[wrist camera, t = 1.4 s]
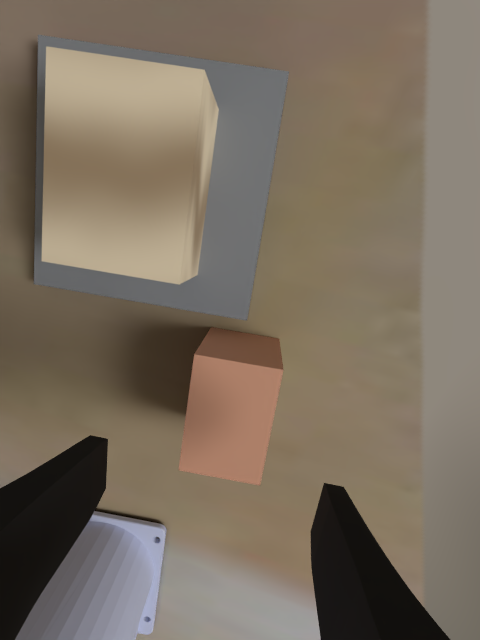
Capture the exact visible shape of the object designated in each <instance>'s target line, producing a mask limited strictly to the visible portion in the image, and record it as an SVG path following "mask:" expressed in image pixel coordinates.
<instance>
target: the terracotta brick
mask: <svg viewBox="0 0 480 640" xmlns="http://www.w3.org/2000/svg"><path fill="white" fill-rule="evenodd" d="M282 374H283V364H282V356H281V349H280V342H279V339H277V338H271V337H266V336H260V335H254V334H248V333H242V332H237V331H231V330H225V329H219V328H214V327H211V328H210V330H209V331H208V333H207V335H206V336H205V338H204V339H203V341H202V343H201V344H200V346H199V347H198V349H197V351H196V352H195V354H194V360H193V367H192V375H191V382H190V389H189V397H188V404H187V412H186V419H185V427H184V434H183V441H182V449H181V456H180V464H179V470H180V471H186V472H191V473H196V474H202V475H207V476H212V477H218V478H223V479H228V480H234V481H239V482H244V483H250V484H255V485H260V483H261V478H262V473H263V469H264V464H265V459H266V454H267V449H268V444H269V439H270V434H271V429H272V424H273V419H274V414H275V409H276V404H277V399H278V394H279V389H280V384H281V379H282Z"/></svg>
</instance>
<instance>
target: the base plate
mask: <svg viewBox="0 0 480 640" xmlns="http://www.w3.org/2000/svg"><path fill="white" fill-rule="evenodd" d="M46 46H48V47H54V48H61V49H68V50H75V51H81V52H88V53H95V54H102V55H108V56H115V57H122V58H129V59H135V60H142V61H149V62H156V63H162V64H169V65H176V66H183V67H189V68H196V69H203V70H205V72H206V75H207V78H208V81H209V84H210V86H211V89H212V92H213V95H214V98H215V100H216V103H217V106H218V109H219V112H218V120H217V128H216V136H215V143H214V151H213V159H212V167H211V174H210V182H209V190H208V197H207V205H206V213H205V221H204V228H203V236H202V244H201V252H200V259H199V267H198V275H197V276H195V277H193V278H191V279H189V280H187V281H185V282H183V283H181V284H173V283H167V282H161V281H155V280H149V279H144V278H138V277H132V276H126V275H120V274H114V273H108V272H102V271H96V270H90V269H84V268H79V267H73V266H67V265H61V264H55V263H49V262H43V261H42V217H43V171H44V125H45V79H46ZM288 74H289V72H288V71H281V70H274V69H267V68H261V67H254V66H247V65H240V64H233V63H227V62H220V61H213V60H206V59H199V58H193V57H186V56H179V55H172V54H165V53H159V52H152V51H145V50H138V49H131V48H125V47H118V46H111V45H104V44H97V43H91V42H84V41H77V40H70V39H63V38H57V37H50V36H43V35H38V72H37V131H36V190H35V250H34V284H37V285H43V286H49V287H54V288H60V289H66V290H72V291H78V292H84V293H89V294H95V295H101V296H107V297H113V298H119V299H124V300H130V301H136V302H142V303H148V304H153V305H159V306H165V307H171V308H177V309H183V310H188V311H194V312H200V313H206V314H212V315H218V316H223V317H229V318H235V319H241V320H247V318H248V312H249V306H250V300H251V294H252V289H253V283H254V277H255V271H256V265H257V259H258V253H259V247H260V241H261V235H262V229H263V223H264V217H265V211H266V206H267V200H268V194H269V188H270V182H271V176H272V170H273V164H274V158H275V152H276V146H277V140H278V134H279V128H280V123H281V117H282V111H283V105H284V99H285V93H286V87H287V81H288Z"/></svg>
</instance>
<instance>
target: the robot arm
mask: <svg viewBox="0 0 480 640" xmlns="http://www.w3.org/2000/svg"><path fill="white" fill-rule="evenodd" d="M107 446H108V439H106V438H101V437H96V436H91V435H90V436H88V437H87V438H85V439H83V440H82V441H80V442H78V443H77V444H75V445H74V446H72V447H70V448H69V449H67V450H66V451H64V452H62V453H61V454H59V455H58V456H56V457H54V458H53V459H51V460H49V461H48V462H46V463H44V464H43V465H41V466H39V467H38V468H36V469H34V470H33V471H31V472H29V473H28V474H26V475H24V476H22V477H20V478H18V479H17V480H15V481H13V482H11V483H9V484H8V485H6V486H4V487H2V488H0V640H135V639H136V636H137V633H141V634H147V635H148V634H150V633H152V631H153V627H154V622H155V614H156V606H157V599H158V591H159V583H160V576H161V568H162V561H163V553H164V545H165V538H166V528H165V526H164V525H162V524H159V523H154V522H149V521H144V520H139V519H133V518H128V517H123V516H118V515H113V514H107V513H102V512H97V511H95V509H96V507H97V505H98V503H99V501H100V499H101V497H102V495H103V493H104V491H105V489H106V471H107ZM156 537H159V538H156ZM311 564H312V575H313V583H314V591H315V598H316V606H317V613H318V621H319V628H320V636H321V640H450V639H449V638H448V636H447V635H446V634H445V633H444V632H443V631H442V629H441V628H440V627H439V626H438V625H437V623H436V622H435V621H434V620H433V618H432V617H431V616H430V615H429V613H428V612H427V611H426V610H425V608H424V607H423V606H422V605H421V603H420V602H419V601H418V600H417V598H416V597H415V596H414V595H413V593H412V592H411V591H410V589H409V588H408V587H407V585H406V584H405V582H404V581H403V580H402V578H401V577H400V575H399V574H398V573H397V571H396V570H395V568H394V567H393V565H392V564H391V562H390V561H389V559H388V558H387V557H386V555H385V553H384V552H383V550H382V549H381V547H380V546H379V544H378V543H377V541H376V540H375V538H374V537H373V535H372V533H371V532H370V530H369V529H368V527H367V525H366V524H365V522H364V520H363V519H362V517H361V515H360V514H359V512H358V510H357V509H356V507H355V505H354V504H353V502H352V500H351V499H350V497H349V495H348V493H347V492H346V490H345V489H344V487H341V486H336V485H332V484H327V483H324V485H323V489H322V493H321V496H320V500H319V504H318V507H317V511H316V514H315V518H314V522H313V525H312V529H311Z"/></svg>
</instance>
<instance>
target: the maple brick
mask: <svg viewBox="0 0 480 640" xmlns="http://www.w3.org/2000/svg"><path fill="white" fill-rule="evenodd" d="M218 112H219V109H218V106H217V103H216V100H215V98H214V95H213V92H212V89H211V86H210V84H209V81H208V78H207V75H206V72H205V70H203V69H196V68H189V67H183V66H176V65H169V64H162V63H156V62H149V61H142V60H135V59H129V58H122V57H115V56H108V55H102V54H95V53H88V52H81V51H75V50H68V49H61V48H54V47H48V46H46V79H45V125H44V171H43V217H42V261H43V262H49V263H55V264H61V265H67V266H73V267H79V268H84V269H90V270H96V271H102V272H108V273H114V274H120V275H126V276H132V277H138V278H144V279H149V280H155V281H161V282H167V283H173V284H181V283H183V282H185V281H187V280H189V279H191V278H193V277H195V276H197V275H198V267H199V259H200V252H201V244H202V236H203V228H204V221H205V213H206V205H207V197H208V190H209V182H210V174H211V167H212V159H213V151H214V143H215V136H216V128H217V120H218Z"/></svg>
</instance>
